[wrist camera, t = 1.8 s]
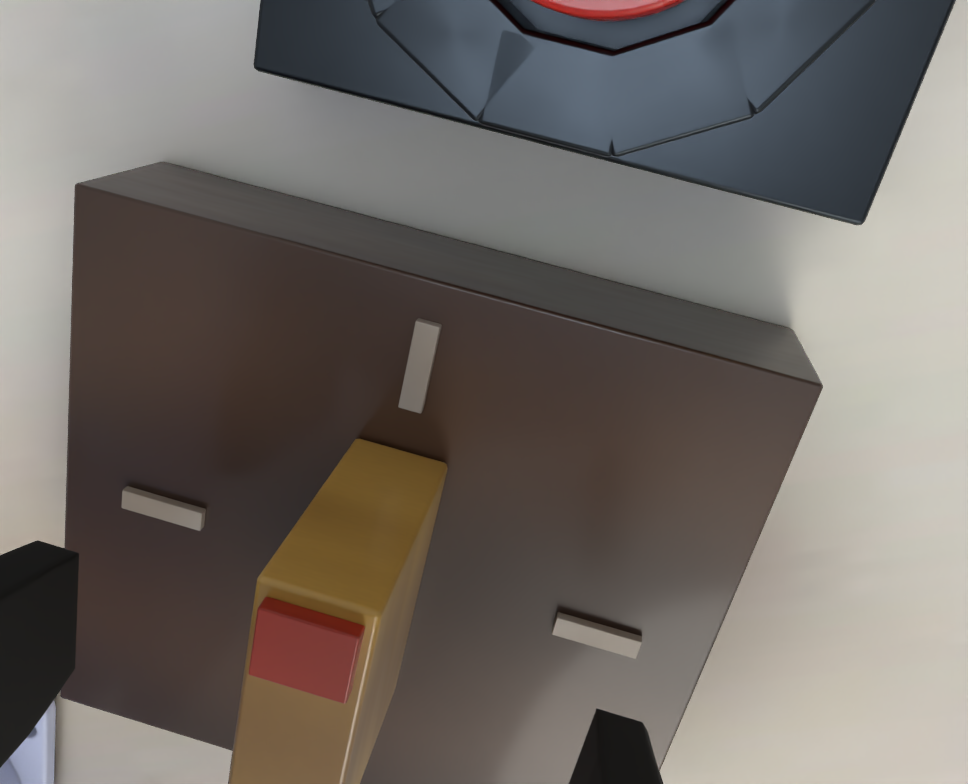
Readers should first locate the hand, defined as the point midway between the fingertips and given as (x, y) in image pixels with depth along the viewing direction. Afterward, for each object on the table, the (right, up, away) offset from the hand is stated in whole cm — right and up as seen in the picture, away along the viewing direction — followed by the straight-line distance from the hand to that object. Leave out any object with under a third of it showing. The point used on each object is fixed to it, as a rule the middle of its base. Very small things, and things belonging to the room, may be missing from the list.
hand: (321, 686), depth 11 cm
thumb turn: (0, +1, +3) cm, 3 cm away
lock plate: (+1, +2, +5) cm, 5 cm away
